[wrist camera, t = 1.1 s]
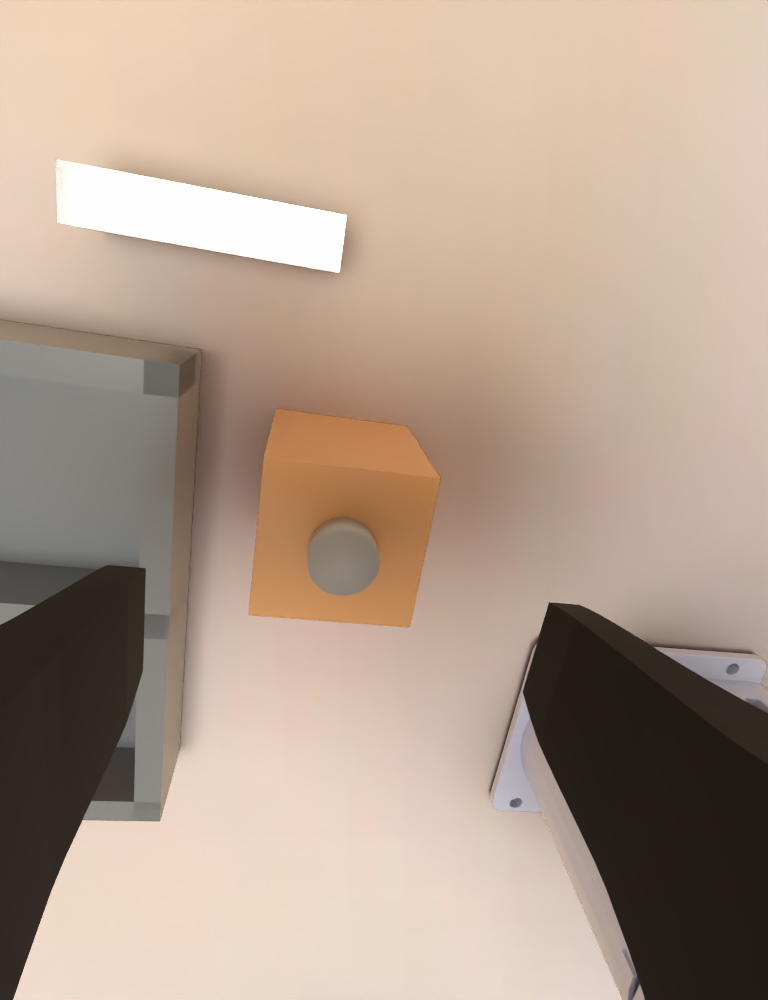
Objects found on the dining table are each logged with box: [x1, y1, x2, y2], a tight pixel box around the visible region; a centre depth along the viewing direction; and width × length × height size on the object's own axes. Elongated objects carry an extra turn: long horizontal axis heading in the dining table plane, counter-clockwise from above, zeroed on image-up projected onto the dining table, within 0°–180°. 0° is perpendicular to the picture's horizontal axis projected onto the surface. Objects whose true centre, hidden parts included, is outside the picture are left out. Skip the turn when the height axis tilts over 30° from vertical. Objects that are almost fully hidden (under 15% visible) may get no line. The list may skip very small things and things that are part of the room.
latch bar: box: [56, 159, 347, 273], centre depth 14 cm, size 6×1×3 cm, turn 81°
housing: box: [0, 320, 202, 821], centre depth 17 cm, size 9×14×3 cm, turn 171°
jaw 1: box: [249, 409, 441, 627], centre depth 16 cm, size 4×4×6 cm
